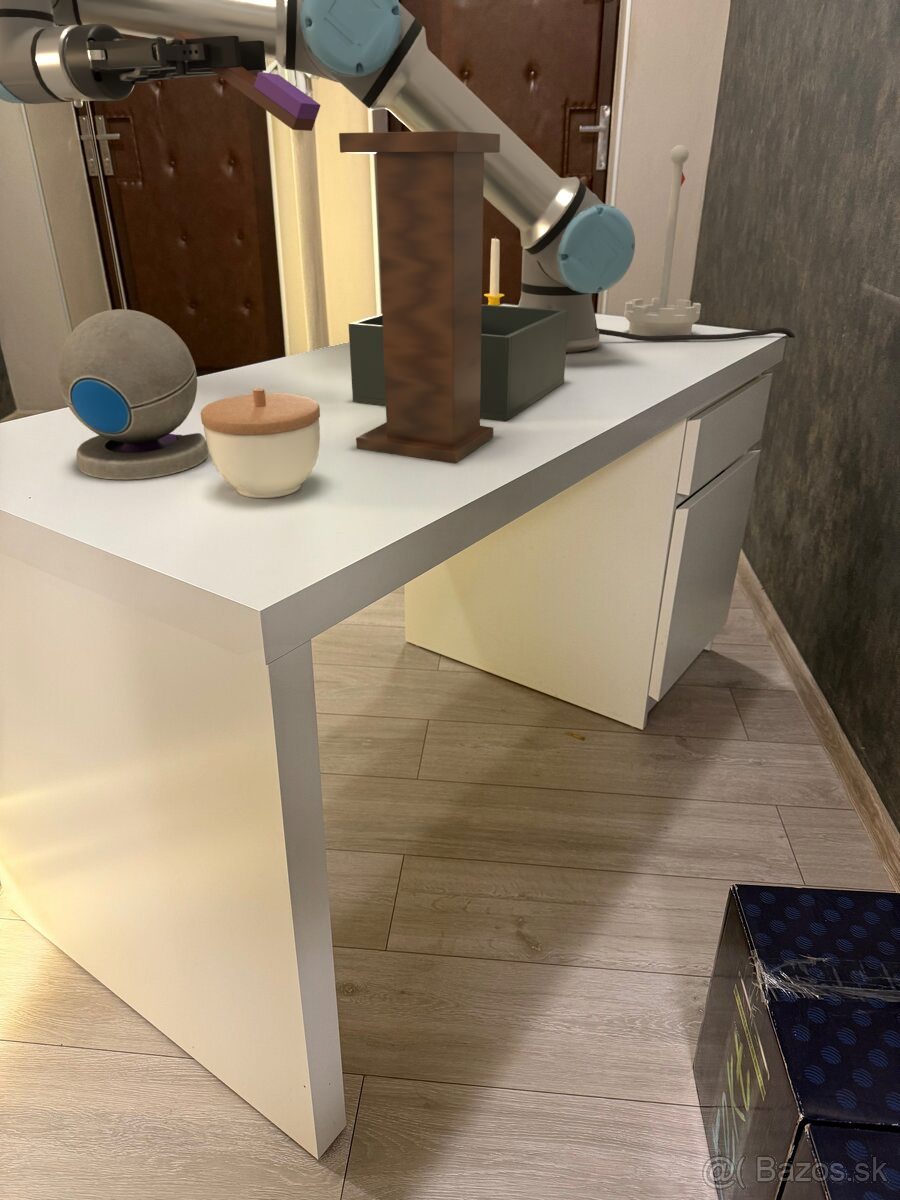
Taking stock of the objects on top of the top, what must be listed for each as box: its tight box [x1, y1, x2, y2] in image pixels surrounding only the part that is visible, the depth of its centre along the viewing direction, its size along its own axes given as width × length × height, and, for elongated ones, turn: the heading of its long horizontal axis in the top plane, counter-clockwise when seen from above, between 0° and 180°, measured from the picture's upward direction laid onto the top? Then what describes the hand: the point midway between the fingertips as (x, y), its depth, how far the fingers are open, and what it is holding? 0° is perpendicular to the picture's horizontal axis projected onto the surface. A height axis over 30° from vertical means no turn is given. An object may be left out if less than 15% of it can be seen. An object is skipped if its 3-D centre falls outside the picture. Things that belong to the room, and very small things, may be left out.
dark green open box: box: [348, 304, 568, 422], centre depth 110 cm, size 22×22×10 cm
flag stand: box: [623, 144, 702, 336], centre depth 142 cm, size 13×13×30 cm
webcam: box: [57, 308, 209, 480], centre depth 83 cm, size 13×13×15 cm
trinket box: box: [200, 387, 321, 499], centre depth 77 cm, size 11×11×9 cm
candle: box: [483, 235, 505, 306], centre depth 155 cm, size 5×5×16 cm
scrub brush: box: [174, 31, 322, 132], centre depth 89 cm, size 17×4×3 cm, turn 65°
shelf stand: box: [338, 131, 500, 464], centre depth 85 cm, size 12×10×30 cm
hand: (250, 53), depth 88 cm, fingers closed on scrub brush, 4 cm apart
